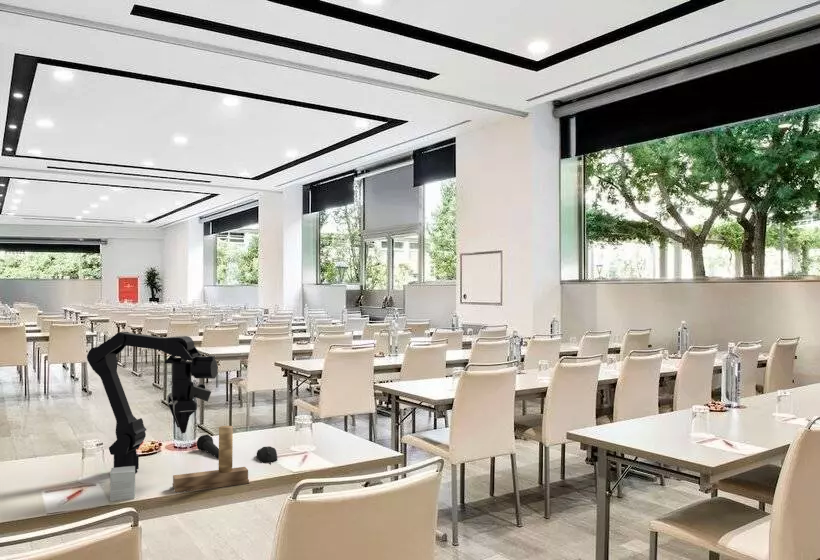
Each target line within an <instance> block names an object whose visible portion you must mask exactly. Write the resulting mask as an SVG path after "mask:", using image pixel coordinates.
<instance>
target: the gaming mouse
mask: <svg viewBox="0 0 820 560" xmlns="http://www.w3.org/2000/svg"><path fill="white" fill-rule="evenodd" d="M256 458H257V459H258V461H259V462H260V463H262V462H263V464H264V463H265V464H269V465H270V466H272V463H277V461H278V453H277V450H276V448H275V447H272V446H262V447H261V448H260V449H258V450H257V451H256ZM271 462H272V463H271Z"/></svg>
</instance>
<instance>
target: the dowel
mask: <svg viewBox="0 0 820 560" xmlns="http://www.w3.org/2000/svg"><path fill="white" fill-rule="evenodd" d="M233 428H234V426H232V425H221V426H219V427H218V449H219V458H218V470H219V472H221V473H227V472H231V471H232V468H233V448H234V447H233V445H234V444H233V443H234V442H233V440H234V439H233V434H234V432H233V430H234V429H233Z"/></svg>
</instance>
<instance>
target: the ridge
mask: <svg viewBox="0 0 820 560" xmlns="http://www.w3.org/2000/svg"><path fill="white" fill-rule="evenodd" d="M249 483H250V479H249V469H248V468H247V467H246V466H240V467H232V471H231V472H227V473H221V472H219V469H216V470H215V469H214V470H207V471H198V472H189V473H182V474H181V473H179V474H173V475H172V488H174V489H173V490H175V491H174V493H175V492H179V493H184V491H186V492H192V491H193V492H194V491H199V490H206V489H207V490H208V489H216V488H221V487H224V488H225V487H230V486H238V485H244V484H245V485H246V484H249Z"/></svg>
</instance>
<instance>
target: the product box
mask: <svg viewBox="0 0 820 560" xmlns="http://www.w3.org/2000/svg"><path fill="white" fill-rule="evenodd" d="M110 469H111V470H110V473H109V481H110V483H109V489H110V490H109V501H110V502H116V500H117V501H124V500H126V499H127V500H134V499H135V497H136V473H135V466H128V467H117V468H113V467H111V468H110Z"/></svg>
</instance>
